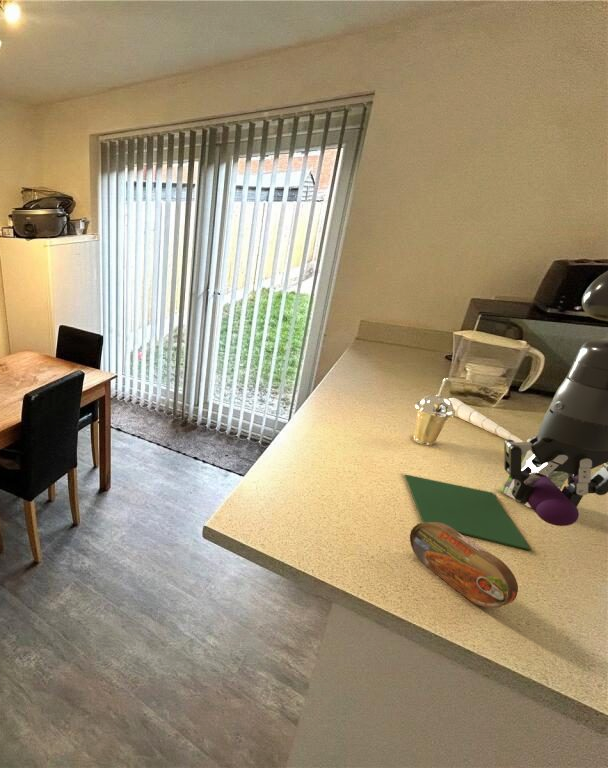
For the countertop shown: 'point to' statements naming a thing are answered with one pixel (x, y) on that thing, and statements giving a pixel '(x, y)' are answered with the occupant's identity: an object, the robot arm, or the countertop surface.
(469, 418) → the unicorn horn
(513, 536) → the cloth
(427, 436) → the cup with straw
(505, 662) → the countertop surface
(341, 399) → the countertop surface
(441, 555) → the tin
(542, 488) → the eggplant
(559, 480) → the syrup box
